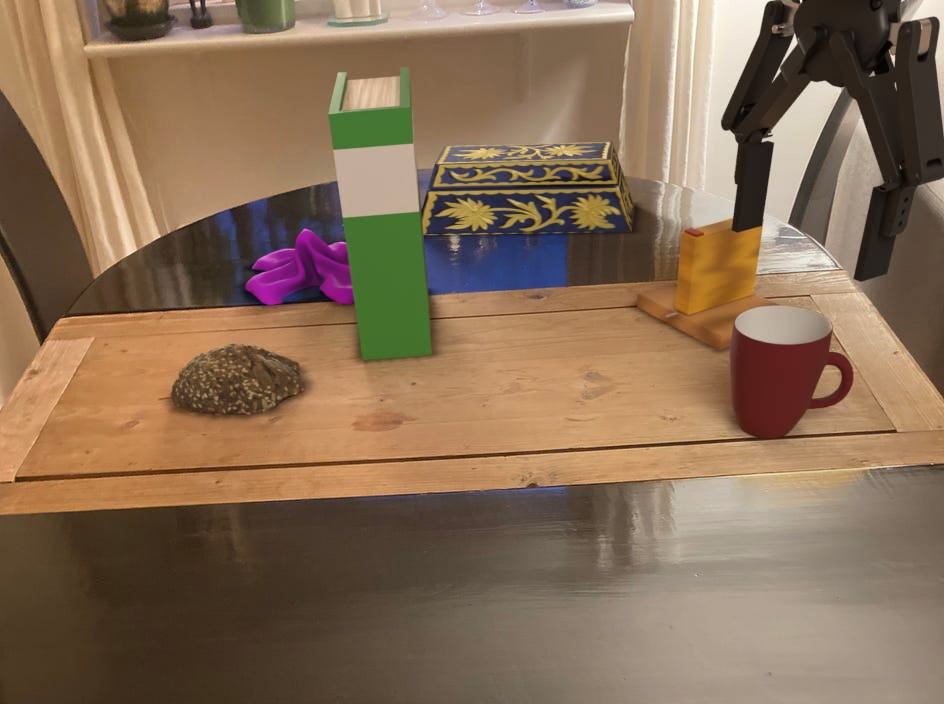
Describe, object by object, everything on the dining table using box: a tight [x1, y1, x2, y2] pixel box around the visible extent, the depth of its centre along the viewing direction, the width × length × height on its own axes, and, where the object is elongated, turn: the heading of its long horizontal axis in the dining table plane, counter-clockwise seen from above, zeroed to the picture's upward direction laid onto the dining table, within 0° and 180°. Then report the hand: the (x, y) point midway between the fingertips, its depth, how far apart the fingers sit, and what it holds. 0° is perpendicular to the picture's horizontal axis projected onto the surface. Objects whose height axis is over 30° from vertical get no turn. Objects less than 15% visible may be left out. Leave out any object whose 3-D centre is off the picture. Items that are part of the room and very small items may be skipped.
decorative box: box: [421, 141, 635, 236], centre depth 129 cm, size 11×30×9 cm, turn 82°
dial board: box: [636, 281, 780, 351], centre depth 104 cm, size 14×13×2 cm
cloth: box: [244, 228, 355, 306], centre depth 120 cm, size 22×19×6 cm
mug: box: [729, 304, 855, 440], centre depth 83 cm, size 10×8×10 cm
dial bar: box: [675, 217, 765, 315], centre depth 101 cm, size 9×2×8 cm, turn 119°
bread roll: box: [170, 342, 306, 416], centre depth 97 cm, size 13×12×5 cm
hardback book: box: [327, 66, 433, 361], centre depth 100 cm, size 18×7×24 cm, turn 3°
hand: (804, 251), depth 77 cm, fingers open, 13 cm apart
